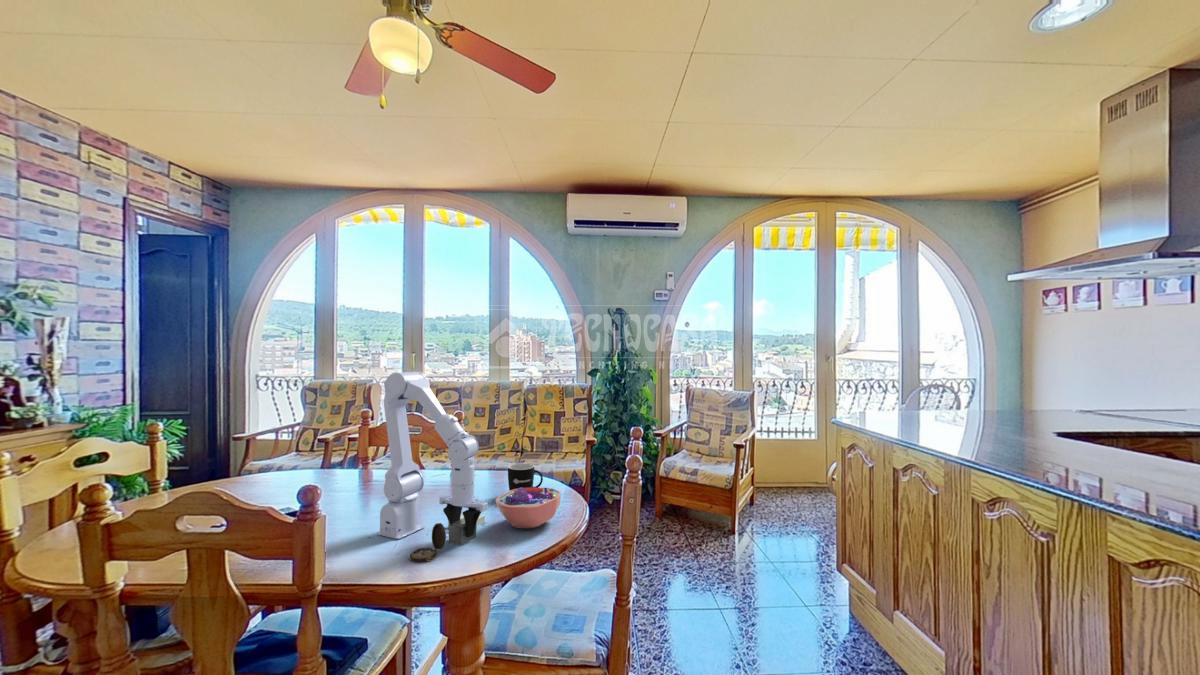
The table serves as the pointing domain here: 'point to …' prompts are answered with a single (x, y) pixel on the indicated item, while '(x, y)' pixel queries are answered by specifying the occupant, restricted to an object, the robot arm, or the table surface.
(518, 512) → the cell model
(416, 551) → the compass
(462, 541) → the block
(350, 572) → the table surface
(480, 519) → the stand
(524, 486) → the mug
